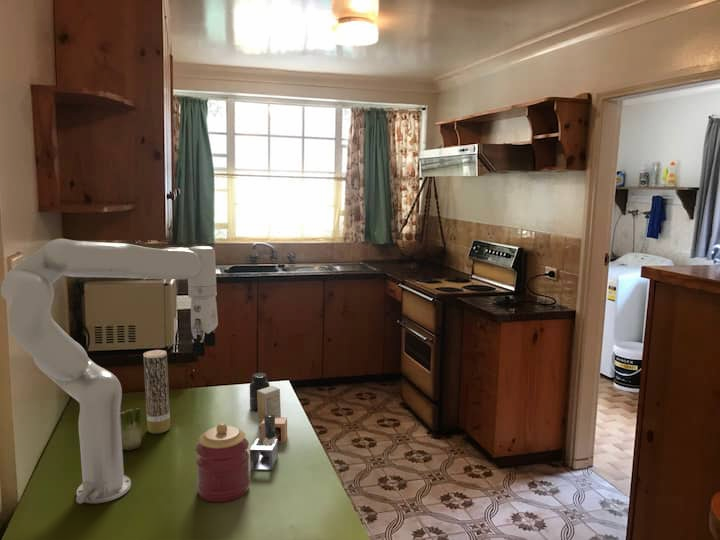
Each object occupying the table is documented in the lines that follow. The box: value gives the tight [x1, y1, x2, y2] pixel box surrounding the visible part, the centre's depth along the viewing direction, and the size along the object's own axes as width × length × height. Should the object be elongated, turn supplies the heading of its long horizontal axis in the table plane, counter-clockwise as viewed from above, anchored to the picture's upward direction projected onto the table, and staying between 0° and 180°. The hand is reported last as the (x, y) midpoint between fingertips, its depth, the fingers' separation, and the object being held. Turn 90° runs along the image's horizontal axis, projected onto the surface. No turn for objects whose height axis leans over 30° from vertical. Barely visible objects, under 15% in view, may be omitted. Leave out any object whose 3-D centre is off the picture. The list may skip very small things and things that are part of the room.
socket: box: [260, 417, 288, 444], centre depth 175 cm, size 4×7×6 cm, turn 88°
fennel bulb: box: [120, 407, 143, 451], centre depth 168 cm, size 6×5×12 cm
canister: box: [195, 422, 251, 503], centre depth 145 cm, size 13×13×18 cm
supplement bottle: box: [249, 372, 271, 413], centre depth 198 cm, size 7×7×12 cm
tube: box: [260, 414, 280, 457], centre depth 168 cm, size 12×4×10 cm, turn 178°
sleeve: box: [249, 438, 279, 471], centre depth 160 cm, size 8×6×6 cm
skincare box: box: [257, 385, 282, 428], centre depth 184 cm, size 6×4×12 cm
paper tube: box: [143, 349, 171, 435], centre depth 180 cm, size 7×7×25 cm
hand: (204, 350), depth 162 cm, fingers open, 9 cm apart
